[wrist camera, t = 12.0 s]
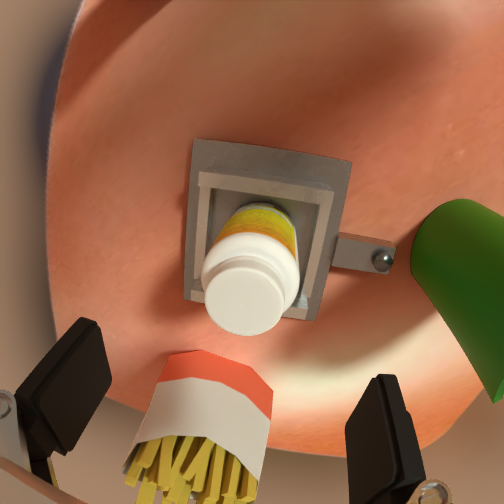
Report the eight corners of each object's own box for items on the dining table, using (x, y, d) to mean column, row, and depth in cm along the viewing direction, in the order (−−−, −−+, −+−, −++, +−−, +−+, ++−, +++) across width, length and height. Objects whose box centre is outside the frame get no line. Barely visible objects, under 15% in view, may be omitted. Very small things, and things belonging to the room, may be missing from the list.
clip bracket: (197, 138, 23) (180, 140, 19) (406, 175, 22) (427, 183, 18) (186, 293, 28) (172, 317, 24) (364, 321, 27) (373, 347, 24)
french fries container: (178, 337, 30) (108, 487, 14) (276, 372, 31) (261, 532, 14) (170, 365, 32) (110, 501, 16) (260, 396, 33) (240, 541, 16)
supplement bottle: (219, 206, 24) (175, 259, 14) (290, 196, 23) (294, 243, 13) (233, 271, 26) (203, 351, 16) (300, 263, 25) (306, 344, 15)
